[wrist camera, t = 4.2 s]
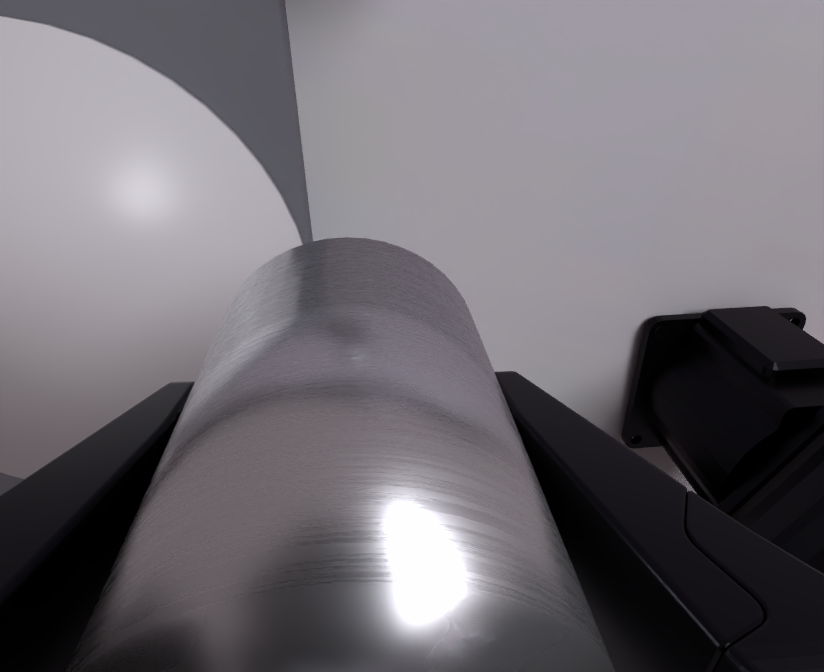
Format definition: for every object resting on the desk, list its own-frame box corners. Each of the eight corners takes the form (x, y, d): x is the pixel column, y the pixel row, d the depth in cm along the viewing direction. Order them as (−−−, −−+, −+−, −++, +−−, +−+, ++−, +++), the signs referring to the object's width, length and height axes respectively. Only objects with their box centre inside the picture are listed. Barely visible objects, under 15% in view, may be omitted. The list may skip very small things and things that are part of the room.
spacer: (466, 450, 11) (573, 849, 6) (238, 461, 10) (121, 900, 5) (487, 235, 9) (694, 561, 3) (198, 238, 8) (-71, 610, 3)
